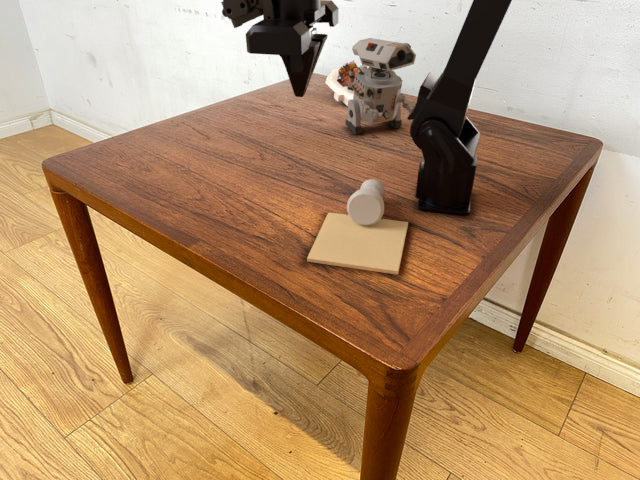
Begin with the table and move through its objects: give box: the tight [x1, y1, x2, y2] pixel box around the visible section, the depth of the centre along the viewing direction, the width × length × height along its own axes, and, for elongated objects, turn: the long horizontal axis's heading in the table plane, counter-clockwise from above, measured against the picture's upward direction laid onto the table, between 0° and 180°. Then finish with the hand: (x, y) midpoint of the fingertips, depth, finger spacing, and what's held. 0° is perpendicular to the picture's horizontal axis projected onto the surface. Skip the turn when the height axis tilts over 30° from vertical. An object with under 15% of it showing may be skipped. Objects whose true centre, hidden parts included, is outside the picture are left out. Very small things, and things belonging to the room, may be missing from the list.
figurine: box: [344, 37, 417, 135], centre depth 80 cm, size 9×12×15 cm
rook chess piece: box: [346, 178, 386, 226], centre depth 61 cm, size 4×4×8 cm
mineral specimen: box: [324, 60, 369, 107], centre depth 99 cm, size 12×12×7 cm
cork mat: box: [306, 212, 409, 275], centre depth 56 cm, size 10×10×1 cm
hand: (299, 96), depth 63 cm, fingers closed
